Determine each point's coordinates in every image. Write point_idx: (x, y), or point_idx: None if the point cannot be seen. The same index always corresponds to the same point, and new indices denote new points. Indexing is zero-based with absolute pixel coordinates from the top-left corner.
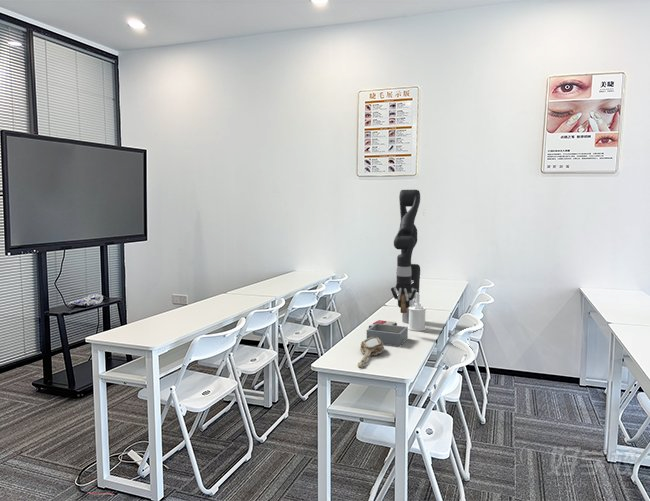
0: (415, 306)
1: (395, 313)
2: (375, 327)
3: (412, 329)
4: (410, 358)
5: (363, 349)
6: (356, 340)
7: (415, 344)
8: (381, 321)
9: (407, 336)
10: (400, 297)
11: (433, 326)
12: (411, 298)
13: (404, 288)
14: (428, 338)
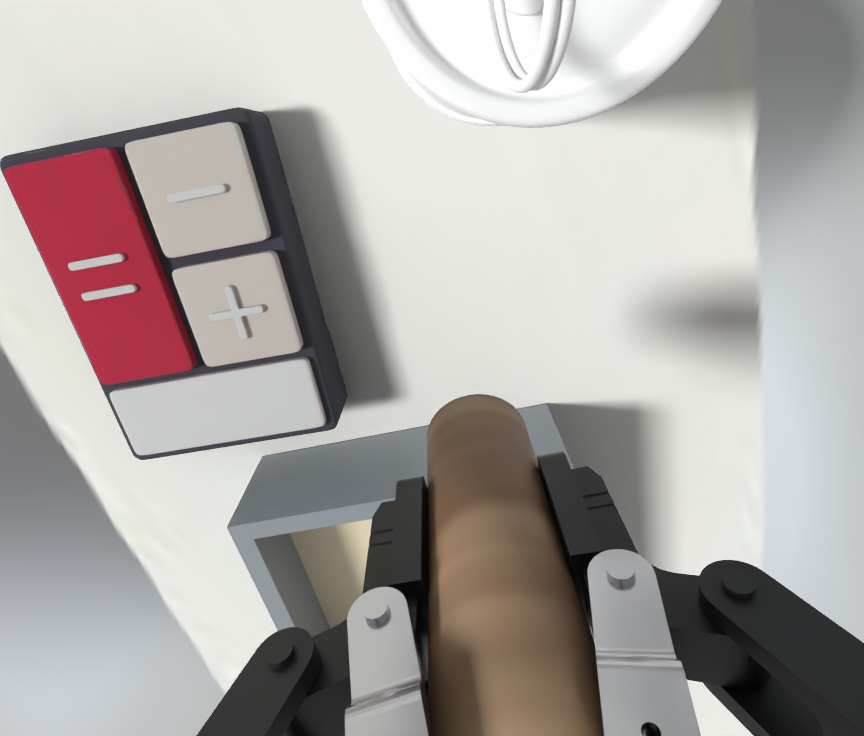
0: None
1: None
2: (275, 553)
3: (481, 124)
4: (702, 696)
5: None
6: (254, 623)
7: (657, 495)
8: (88, 228)
9: (551, 418)
10: (403, 651)
11: None
12: (753, 687)
13: None
14: (721, 296)
